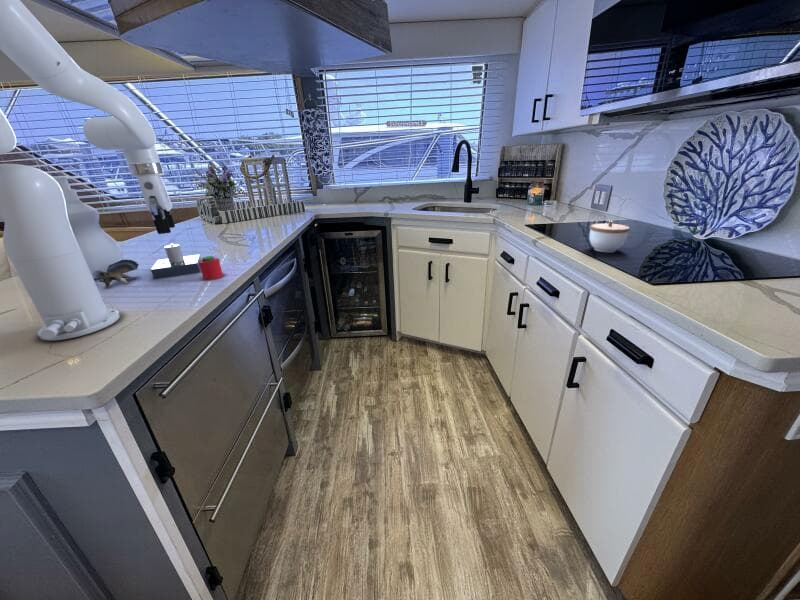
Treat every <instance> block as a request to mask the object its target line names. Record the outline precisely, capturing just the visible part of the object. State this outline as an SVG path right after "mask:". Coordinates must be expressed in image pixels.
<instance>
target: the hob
mask: <svg viewBox="0 0 800 600" xmlns="http://www.w3.org/2000/svg"><path fill="white" fill-rule="evenodd" d="M183 258H184V261H182V262H178V263H169V260H168V258H163V259H157V260H156V262H155V263H154V264H153V266H152V267H151V269H150V272H151V274H152V277H153V279H154V280H159V279H163V278H171V277H177V276H184V275H190V274H194V273H195V274H196V273H197V274H198V273H201V269H200V266H199V262H198V261H200V260H202V257H201V255H200V254H193V255H185V256H183Z"/></svg>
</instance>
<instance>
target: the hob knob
mask: <svg viewBox="0 0 800 600" xmlns="http://www.w3.org/2000/svg"><path fill="white" fill-rule="evenodd" d="M163 247H164V251H165V254H166V257H167V259H168V260H169V263H178V262H182V261H184V258H183V257H184V255H183V252H182V249H181V246H180V244H178V243H177V244H174V243H170V244H168V245H165V246H163Z"/></svg>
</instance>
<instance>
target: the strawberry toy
mask: <svg viewBox="0 0 800 600" xmlns="http://www.w3.org/2000/svg"><path fill="white" fill-rule="evenodd" d="M198 262H199V266H200V273H201V275H202V278H203V280H205V281H211V280H217V279H220V278H222V277H224V273H223V269H222V266H221V262H220V258H219V257H214V256H213V255H209V256H207V255H206V256H203V257H201V260H200V261H198Z"/></svg>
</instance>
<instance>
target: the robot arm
mask: <svg viewBox="0 0 800 600" xmlns="http://www.w3.org/2000/svg"><path fill="white" fill-rule="evenodd" d="M0 51H1V52H2V53H3V54H4V55H5V56H6V57H8V59H10V60H11V61H12V62H13V63H14V64H15V65H16V66H17V67H18V68H19V69H20V70H21V71H22V72H23V73H25V74H26V75H27V77H29V79H31V80H32V81H33V82H34V83H35V84H36V85H37V86H38V87H39V88H40V89H42V90H44V92H46V93H49V94H51V95H54V96H56V97H59V98H62V99H65V100H68V101H71V102H75V103H78V104H81V105H85V106H89V107H92V108H95V109H97V110H99V111H102V112H104V113H106V114H108V115H110V116H97V117H91V118H89V119H87V120H85V122H84V123H83V126H82V131H83V132H82V133H83V135H84V136H85V139H86V140H87V141H88V142H89V143H90V144H91V145H92V146H94V147H96V148H97V149H100V150H102V151H108V152H109V151H110V152H113V151H114V152H116V151H117V152H118V151H119V152H120V151H123V154H124V156H125V159H126V162H127V165H128V169H129V171H130V173H131V176H132V177H134V178H135V177H136V179H137V182H138V185H139V187H140V191H141V193H142V194H141V195H142V197H143V200H144V202H145V205H146V207H147V210H148V211H149V212H150V213H151V217H152V220H153V224H154V227H155V229H156V232H157V234H158V235H164V234H170V233H171V232H172V231H171V229H173V228H175V227H176V225H175V222H174V219H173V215H172V214H171V210H172V209H173V203H172V201H171V198H170V196H169V192H168V189H167V187H166V184H165V182H164V179H163V177H162V176H165V173H164V169H163V166H162V163H161V160H160V157H159V153H158V150H157V147H156V142H157V136H156V132H155V130H154V128H153V126H152V125H151V123H150V122H149V120H148V118H147V117H146V116H145V115H144V113H142V111H141V110H140V109H139V107H138V106H137V105H136V104H135V102H133V101H132V100H131V99H130V98H129V97H128V96H127V95H126V94H124V93H123V92H122V91H120V90H118V89H117V88H115V87H114V86H113V85H110V84H109V83H107V82H106V81H104V80H102V79H101V78H99V77H97V76H95V75H94V74H91V73H89V72H88V71H86V70H84V69H83V68H81V67H80V66H79V65H78V64H77V63H76V61H74V59H73V58H72V57H71V55H69V54H68V53H67V51H66V50H65V49H64V48H63V47H62V46H61V44H59V42H58V41H57V40H56V39H55V38H54V37H53V35H51V34H50V32H49V31H48V30H47V28H45V27H44V25H43V24H42V23H41V22H40V21H39V20H38V19H37V18H36V16H35V15H34V14H33V13H32V12H31V11H30V9H28V7H27V6H26V5H25V4H24V3H23V2H22V1H21V0H0ZM17 143H18V142H17V136H16V133H15V131H14V129H13V128H12V125H11V124H10V122H9V120H8V119H7V117H6V115H5V113H4V111H3V110H2V109H1V108H0V155H4V154H9V153H10V152H12V151H13V150H14V149H15V148H16V146H17ZM0 223H4V227H3V234H2V244H3V248H4V251H5V253H6V255H7V257H8V259H9V261H10V262H11V264H12V266H13V268H14V270H15V271H16V273H17V275H18V277H19V279H20V281H21V283H22V284H23V286H24V288H25V290H26V292H27V294H28V295H29V297H30V299H31V301H32V303H33V305H34V307H35V308H36V311H37V312H38V314H39V316H40V318H41V320H42V321H43V323H44V325H43V326H42V327H41V328H40V329H38V331H37V336H38V338H39V339H40V340H42V341H49V342H50V341H51V342H53V341H54V342H55V341H63V340H70V339H73V338H79V337H83V336H86V335H89V334H93V333H95V332H98V331H101V330H103V329H106V328H107V327H109V326H111V325H113V324H115V323H116V322H117V321H118V320H119V319H120V316H121V315H120V312H119V311H118V310H116V309H113V308H107V306H106V304H105V302H104V299H103V297H102V295H101V293H100V291H99V288H98V286H97V284H96V281H95V279H93V277H92V275H91V272H90V270H89V268H88V265H87V263H86V261H85V259H84V256H83V254H82V252H81V250H80V248H79V245H78V243H77V241H76V238H75V236H74V234H73V231H72V228H71V225H70V222H69V219H68V215H67V209H66V203H65V198H64V194H63V192H62V189H61V187H60V186H59V184H58V183H57V181H56V179H54V178H53V177H52V175H51V174H49V173H47V172H46V171H44V170H42V169H40V168H37V167H34V166H31V165H26V164H19V163H0Z"/></svg>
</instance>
